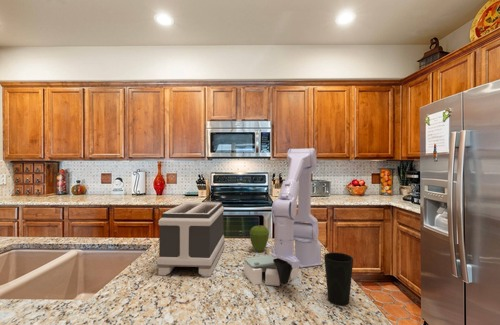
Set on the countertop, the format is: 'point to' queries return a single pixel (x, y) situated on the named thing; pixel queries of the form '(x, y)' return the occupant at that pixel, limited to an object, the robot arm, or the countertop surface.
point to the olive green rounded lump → (259, 237)
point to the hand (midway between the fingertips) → (284, 283)
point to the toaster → (191, 237)
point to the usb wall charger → (272, 277)
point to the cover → (260, 261)
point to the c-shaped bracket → (256, 272)
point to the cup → (338, 277)
